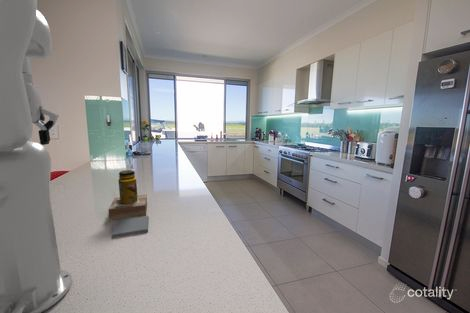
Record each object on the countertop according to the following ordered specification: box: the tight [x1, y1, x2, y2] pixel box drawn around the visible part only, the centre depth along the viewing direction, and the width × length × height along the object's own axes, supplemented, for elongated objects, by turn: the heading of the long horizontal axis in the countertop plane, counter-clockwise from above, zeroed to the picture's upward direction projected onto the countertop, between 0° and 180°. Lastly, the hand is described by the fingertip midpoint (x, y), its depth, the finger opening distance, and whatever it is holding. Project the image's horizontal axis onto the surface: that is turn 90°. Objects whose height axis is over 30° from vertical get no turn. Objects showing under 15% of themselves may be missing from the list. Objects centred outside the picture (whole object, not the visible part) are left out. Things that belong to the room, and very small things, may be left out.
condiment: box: [112, 169, 140, 207], centre depth 80 cm, size 7×8×12 cm
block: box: [108, 194, 148, 221], centre depth 82 cm, size 12×12×4 cm
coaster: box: [111, 215, 150, 238], centre depth 70 cm, size 10×10×1 cm
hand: (23, 144), depth 58 cm, fingers open, 9 cm apart
